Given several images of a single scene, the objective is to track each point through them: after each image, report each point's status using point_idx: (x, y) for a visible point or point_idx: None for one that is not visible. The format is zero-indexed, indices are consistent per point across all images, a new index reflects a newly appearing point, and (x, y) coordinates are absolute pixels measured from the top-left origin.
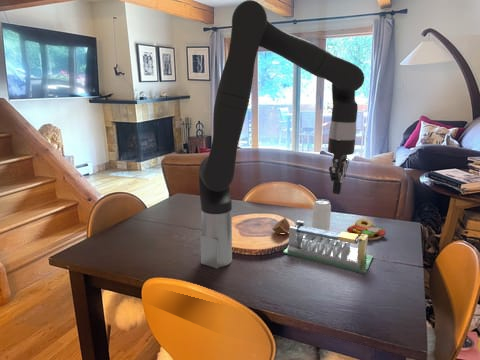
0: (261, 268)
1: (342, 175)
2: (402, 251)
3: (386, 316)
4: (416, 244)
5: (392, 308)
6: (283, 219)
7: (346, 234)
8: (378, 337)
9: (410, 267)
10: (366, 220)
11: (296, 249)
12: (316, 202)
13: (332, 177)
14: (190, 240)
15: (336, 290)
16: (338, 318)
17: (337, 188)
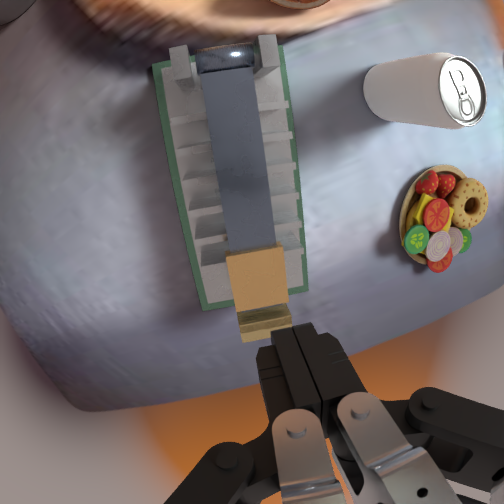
0: (37, 87)
1: (349, 490)
2: (375, 321)
3: (97, 375)
4: (420, 325)
5: (124, 377)
6: None
7: (263, 271)
8: (49, 376)
9: None
10: (483, 208)
11: (167, 102)
12: (449, 66)
13: (194, 496)
14: None
15: (88, 287)
16: (29, 324)
17: (264, 400)
